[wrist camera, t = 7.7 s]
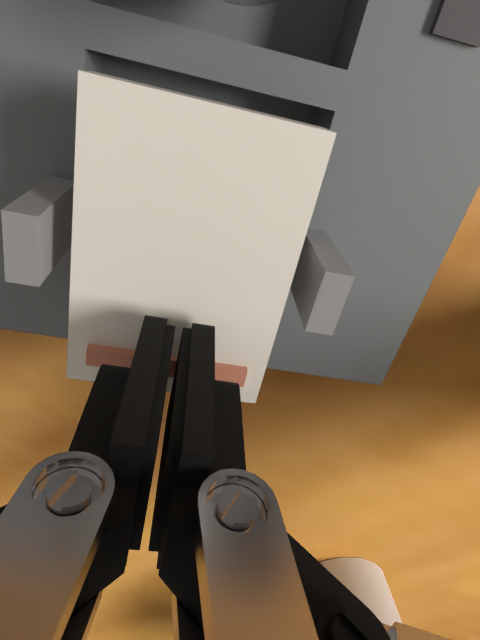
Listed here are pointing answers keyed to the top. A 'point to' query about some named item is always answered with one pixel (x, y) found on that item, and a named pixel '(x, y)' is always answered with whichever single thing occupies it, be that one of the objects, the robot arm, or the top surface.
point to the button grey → (250, 2)
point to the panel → (276, 99)
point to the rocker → (185, 223)
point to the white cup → (365, 585)
